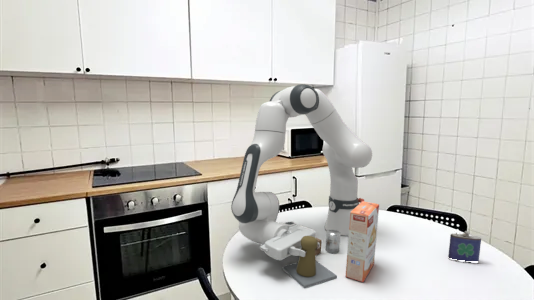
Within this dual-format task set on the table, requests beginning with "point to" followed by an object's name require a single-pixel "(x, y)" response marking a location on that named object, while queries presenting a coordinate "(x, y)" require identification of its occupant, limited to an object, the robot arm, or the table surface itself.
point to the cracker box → (362, 240)
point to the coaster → (305, 282)
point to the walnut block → (318, 251)
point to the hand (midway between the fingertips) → (312, 250)
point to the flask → (464, 247)
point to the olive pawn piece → (308, 257)
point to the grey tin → (332, 241)
